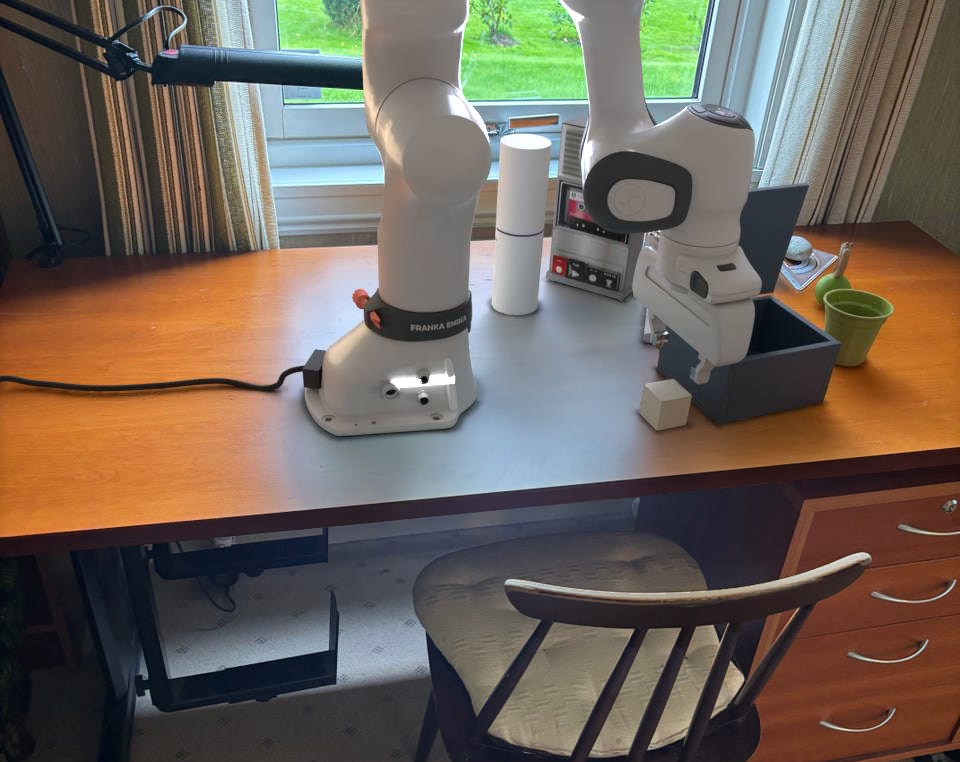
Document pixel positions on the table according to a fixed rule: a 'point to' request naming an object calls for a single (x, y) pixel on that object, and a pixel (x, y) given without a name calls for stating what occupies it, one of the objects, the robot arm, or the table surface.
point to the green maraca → (835, 275)
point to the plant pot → (854, 322)
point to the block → (665, 404)
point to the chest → (759, 367)
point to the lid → (770, 228)
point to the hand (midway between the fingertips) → (677, 362)
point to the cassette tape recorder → (586, 231)
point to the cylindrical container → (520, 222)
